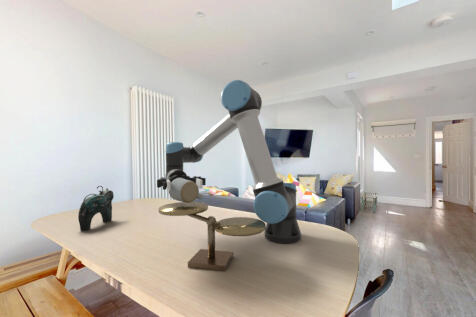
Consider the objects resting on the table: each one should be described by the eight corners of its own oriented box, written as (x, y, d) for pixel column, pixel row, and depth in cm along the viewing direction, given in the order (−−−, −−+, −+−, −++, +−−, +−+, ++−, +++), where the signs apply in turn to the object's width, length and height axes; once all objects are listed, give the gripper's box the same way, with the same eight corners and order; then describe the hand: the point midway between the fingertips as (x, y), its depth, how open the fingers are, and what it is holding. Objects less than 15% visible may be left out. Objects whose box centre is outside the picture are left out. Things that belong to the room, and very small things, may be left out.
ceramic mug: (181, 205, 67) (181, 180, 68) (168, 201, 73) (168, 178, 73) (208, 200, 75) (208, 178, 75) (194, 197, 81) (194, 176, 81)
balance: (268, 255, 75) (267, 204, 75) (262, 281, 59) (262, 216, 59) (174, 247, 83) (174, 201, 83) (148, 268, 67) (147, 211, 67)
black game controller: (106, 219, 122) (106, 183, 122) (117, 219, 121) (116, 183, 121) (75, 231, 103) (75, 188, 103) (88, 231, 102) (87, 189, 102)
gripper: (203, 186, 94) (218, 194, 73) (148, 189, 86) (148, 199, 65) (203, 169, 94) (218, 172, 73) (148, 170, 85) (148, 174, 65)
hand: (185, 185), depth 69 cm, fingers closed on ceramic mug, 9 cm apart
